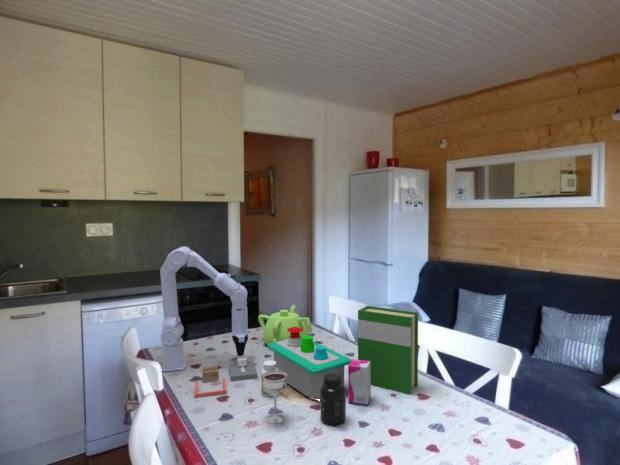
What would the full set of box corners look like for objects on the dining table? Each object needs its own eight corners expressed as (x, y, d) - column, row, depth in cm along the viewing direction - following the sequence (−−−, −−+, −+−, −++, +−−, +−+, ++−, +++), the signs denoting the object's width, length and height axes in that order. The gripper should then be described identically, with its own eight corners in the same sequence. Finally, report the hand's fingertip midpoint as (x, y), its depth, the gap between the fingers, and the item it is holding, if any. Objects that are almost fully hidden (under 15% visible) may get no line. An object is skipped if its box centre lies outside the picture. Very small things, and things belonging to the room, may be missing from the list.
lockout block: (202, 377, 134) (202, 367, 134) (217, 375, 135) (217, 365, 135) (203, 383, 129) (202, 373, 129) (218, 381, 131) (218, 371, 130)
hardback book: (417, 385, 126) (418, 312, 124) (410, 394, 119) (411, 317, 118) (367, 373, 135) (367, 305, 134) (358, 381, 129) (357, 310, 127)
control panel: (314, 351, 111) (265, 326, 136) (315, 407, 112) (266, 372, 137) (354, 341, 120) (301, 319, 145) (354, 393, 121) (301, 362, 145)
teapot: (272, 354, 154) (271, 318, 154) (256, 339, 172) (255, 307, 172) (314, 346, 163) (313, 312, 162) (294, 333, 181) (294, 302, 180)
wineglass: (258, 417, 107) (257, 374, 106) (278, 409, 111) (277, 368, 111) (272, 427, 102) (271, 383, 101) (292, 418, 106) (292, 375, 106)
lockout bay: (195, 384, 127) (195, 381, 127) (225, 381, 130) (225, 378, 130) (194, 397, 119) (194, 394, 119) (226, 393, 121) (226, 390, 121)
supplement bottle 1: (276, 397, 118) (275, 366, 118) (259, 396, 119) (258, 365, 119) (281, 389, 123) (280, 359, 123) (264, 388, 125) (264, 358, 124)
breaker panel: (228, 367, 142) (228, 363, 141) (253, 364, 144) (253, 360, 144) (230, 381, 130) (230, 376, 130) (257, 378, 132) (257, 373, 132)
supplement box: (371, 397, 118) (371, 360, 117) (367, 406, 112) (367, 368, 112) (352, 394, 120) (352, 358, 119) (347, 403, 114) (347, 365, 114)
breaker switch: (237, 364, 140) (237, 358, 139) (245, 363, 140) (245, 357, 140) (238, 366, 137) (237, 360, 137) (246, 365, 138) (246, 359, 138)
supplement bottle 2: (316, 416, 107) (316, 374, 107) (338, 411, 110) (338, 369, 109) (327, 429, 101) (327, 384, 100) (350, 423, 104) (350, 379, 103)
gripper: (252, 323, 138) (253, 361, 139) (248, 313, 152) (249, 347, 153) (232, 325, 136) (233, 363, 137) (230, 314, 150) (230, 349, 151)
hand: (240, 355), depth 145 cm, fingers closed
